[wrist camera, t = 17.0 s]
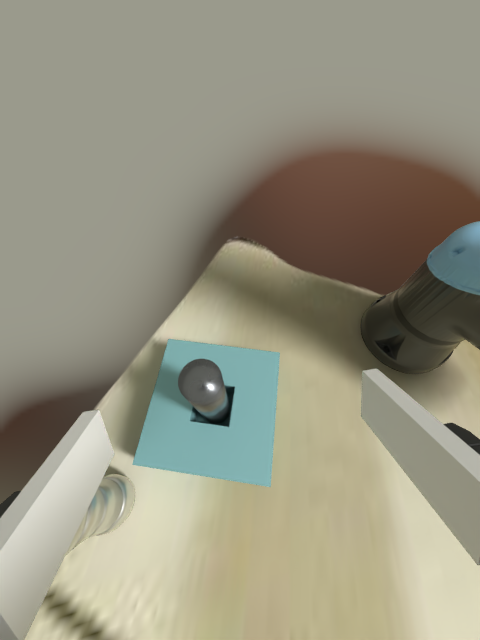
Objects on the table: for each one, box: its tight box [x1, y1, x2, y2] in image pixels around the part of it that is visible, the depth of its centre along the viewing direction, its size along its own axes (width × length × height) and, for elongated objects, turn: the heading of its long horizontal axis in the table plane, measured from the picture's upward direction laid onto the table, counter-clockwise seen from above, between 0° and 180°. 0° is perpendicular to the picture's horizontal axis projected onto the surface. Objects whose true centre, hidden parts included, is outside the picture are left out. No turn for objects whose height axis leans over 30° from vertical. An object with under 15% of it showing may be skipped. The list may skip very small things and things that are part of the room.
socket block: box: [132, 339, 280, 487], centre depth 40 cm, size 18×18×6 cm
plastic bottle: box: [65, 474, 135, 556], centre depth 28 cm, size 6×7×20 cm
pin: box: [178, 359, 230, 424], centre depth 34 cm, size 4×4×18 cm
